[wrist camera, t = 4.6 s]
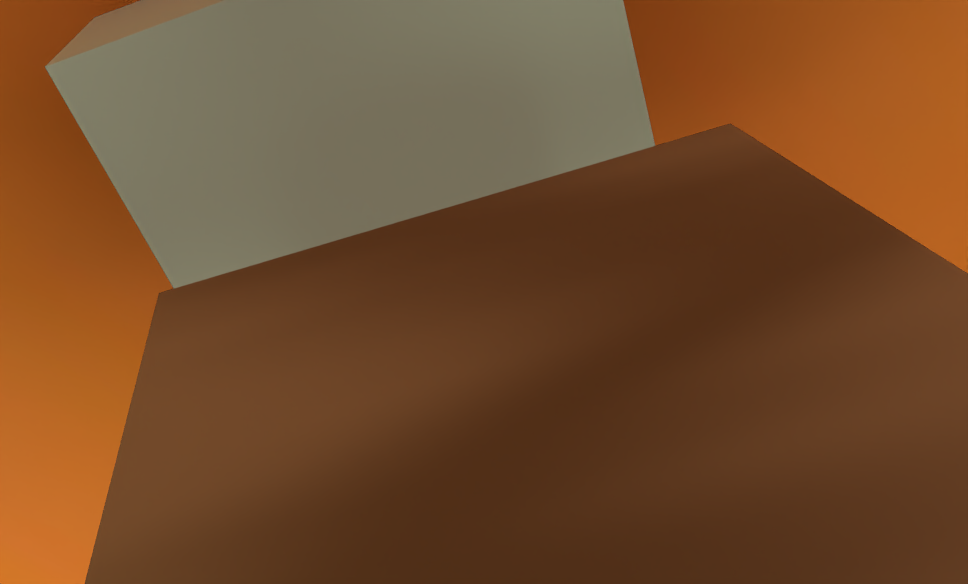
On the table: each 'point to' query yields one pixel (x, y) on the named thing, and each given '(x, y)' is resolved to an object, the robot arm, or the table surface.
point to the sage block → (340, 113)
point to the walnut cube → (563, 394)
